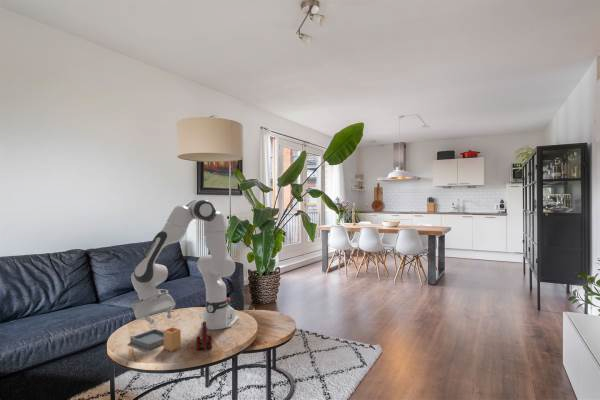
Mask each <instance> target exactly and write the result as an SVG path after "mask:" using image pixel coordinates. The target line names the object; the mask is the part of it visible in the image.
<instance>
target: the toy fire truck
mask: <svg viewBox="0 0 600 400" xmlns="http://www.w3.org/2000/svg"><path fill="white" fill-rule="evenodd" d="M201 325H202V328H201V329H202V331H201V336H200V335H198V336H196V350H197V351H199V350H201V349H204V350H206V349H207V347H208V349H212V348H213V346H212V344H213V343H212V342H213V341H212V340H213V339H212V335H211V334H208V333H207V332H208V329H207V327H206V322H203V324H201Z"/></svg>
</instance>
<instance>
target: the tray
mask: <svg viewBox="0 0 600 400" xmlns="http://www.w3.org/2000/svg"><path fill="white" fill-rule="evenodd" d="M130 344H134V345H136V346H138V347H141V348H143V349H145V350H148V351H149V350H153V349H154V348H157V347H159V346H162V345H164V331H163V330H160V329H157V328H154V329H150V330H148V331H145V332H142V333H139V334H136V335H133V336H131V337H130Z"/></svg>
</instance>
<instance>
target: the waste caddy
mask: <svg viewBox="0 0 600 400" xmlns="http://www.w3.org/2000/svg"><path fill="white" fill-rule="evenodd" d="M162 331H163V332H164V344H163V350H164V351H167V352H169V351H170V352H169V353H173V352H176V351H177V350H180V349H182V348H181V346H182V344H181V337H182V336H181V332H182V331H181V329H180V328H177V327H174V326H171V327H169V328H165V329H164V330H162ZM175 350H176V351H175Z"/></svg>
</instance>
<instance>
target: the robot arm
mask: <svg viewBox="0 0 600 400" xmlns="http://www.w3.org/2000/svg"><path fill="white" fill-rule="evenodd" d="M224 217H225V216H224V215H223V213H222V212H220V211H217V210H216V209H215V207H214V204H213V203H212V202H211V201H210V200H207V199H193V200H192V201H190V202H189V203H188V204H186V205H182V204H181V205H176V206H175V207H174V208H173V209H172V211H171V213H170V214H169V216H168V218H167V219H166V223H165V224H164V226H163V228H162V229H161V230H160V231H159V232H158V233H156V235H155V236H154V237H153V239H152V241H151V243H150V245H148V248H147V249H146V251H145V253H144V254H143V256H142V258H141V260H139V262H138V263H137V264H136V265H135V267H134V269H133V271H132V273H131V276H130V279H131V280H130V281H131V283H132V286H133V288H134V290H135V292H137V296H138V298H139V299H138V300H134V301H133V302H131V305H130V307H131V309H132V310H133V314H134V317H135V319H137V320H138V321H139V320H142V319H144V320H145V321H147V322H148V323H149V325H154V324H155V323H156V322H155V320H154V318H151V317H152V316H155V315H158V314H163V313H165V312H166V314H167V315H166V318H167V319H168V320H169V319H171V318H173V316H172V310H173V309H175V307H176V301H175V300H174V299H173V297H172V296H171V294H169V290H167V289H162V288H161V289H160V288H157V286H159V285H160V284H163V283H164V282H165V281H166V280H167V279H168V277H169V270H168V268H167V266H166V265H163V264H161V263H156V260H157V259H158V257H159V255H160V253H161V252H162V250H163V249H164V248H165V247H167V246H168V245H171V244H175V243H178V242H180V241H181V240H183V238H184V236H185V234H186V232H187V230H188V228H189V225H190V223H191V222H192V221H193V220H198V221H201V220H202V222H204V227H205V228H204V236H205V237H204V239H205V240H204V241H205V242H204V243H205V247H206V248H207V250H208V251H209V253H210V254H205V255H202V256H200V257H199V258H198V260H197V262H196V266H197V269H198V270H199V272H200V273H201V275H202V279H203V281H204V286H205V301H204V303H205V304H204V305H205V307H204V310H203V321H201V325H203V322H206V327H207V330H213V331H215V330H222V329H226V328H232V327H233V326H234V325H235V324H236V323H237V322H238V320H239V319H240V316H238V315H236V314H235V313H236V312H235V309H234V308H233V307H232V306H231V305H230V304H229V302H231V297H227V286H226V283H225V282H224V281H223V279H222V278H226V277H230V276H232V275H233V274H234V272H235V271H236V263H235V261H234V260H233V259H232V257H231V255H230V253H229V250H228V246H227V240H226V239H227V238H226V237H227V236H226V224H225V223H226V221H225V218H224Z"/></svg>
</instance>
